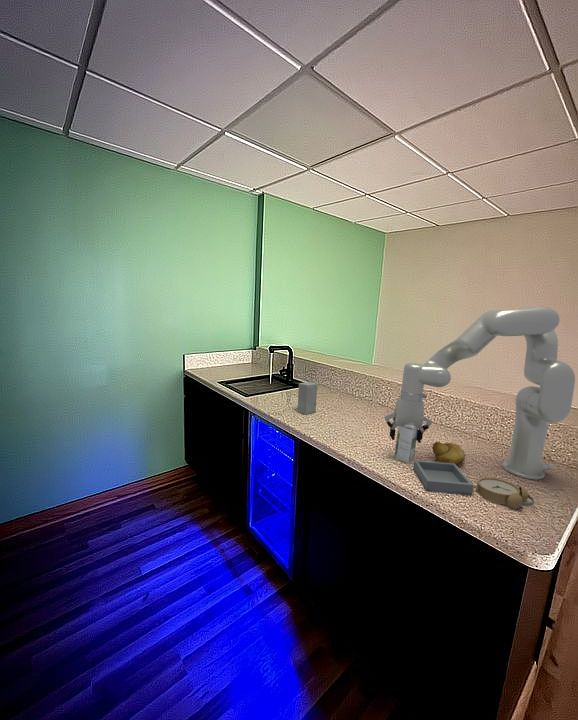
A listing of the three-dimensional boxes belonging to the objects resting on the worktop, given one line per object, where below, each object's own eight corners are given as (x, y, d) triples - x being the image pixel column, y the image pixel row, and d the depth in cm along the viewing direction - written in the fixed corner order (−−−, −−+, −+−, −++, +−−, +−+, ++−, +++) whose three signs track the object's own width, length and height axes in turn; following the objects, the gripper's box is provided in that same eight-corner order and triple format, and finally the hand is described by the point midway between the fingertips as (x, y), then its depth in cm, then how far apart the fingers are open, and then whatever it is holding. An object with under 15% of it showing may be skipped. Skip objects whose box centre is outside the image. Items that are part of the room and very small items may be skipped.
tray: (453, 472, 114) (454, 463, 114) (472, 495, 100) (473, 485, 100) (413, 469, 115) (414, 460, 115) (426, 491, 101) (427, 481, 101)
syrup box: (399, 453, 127) (403, 418, 125) (414, 458, 123) (418, 422, 121) (393, 458, 123) (397, 422, 120) (409, 463, 119) (413, 426, 117)
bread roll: (447, 453, 130) (450, 435, 128) (471, 464, 122) (475, 444, 120) (428, 460, 123) (430, 440, 122) (452, 472, 115) (455, 451, 113)
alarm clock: (484, 474, 109) (539, 487, 97) (485, 488, 109) (539, 503, 97) (470, 484, 102) (527, 499, 90) (471, 499, 102) (528, 516, 90)
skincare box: (305, 415, 167) (307, 385, 164) (296, 411, 172) (297, 382, 169) (316, 412, 172) (318, 383, 170) (307, 408, 178) (309, 380, 175)
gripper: (431, 395, 122) (425, 438, 125) (385, 391, 123) (380, 433, 126) (438, 401, 115) (432, 446, 118) (389, 397, 116) (384, 441, 119)
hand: (405, 439), depth 122 cm, fingers open, 9 cm apart
